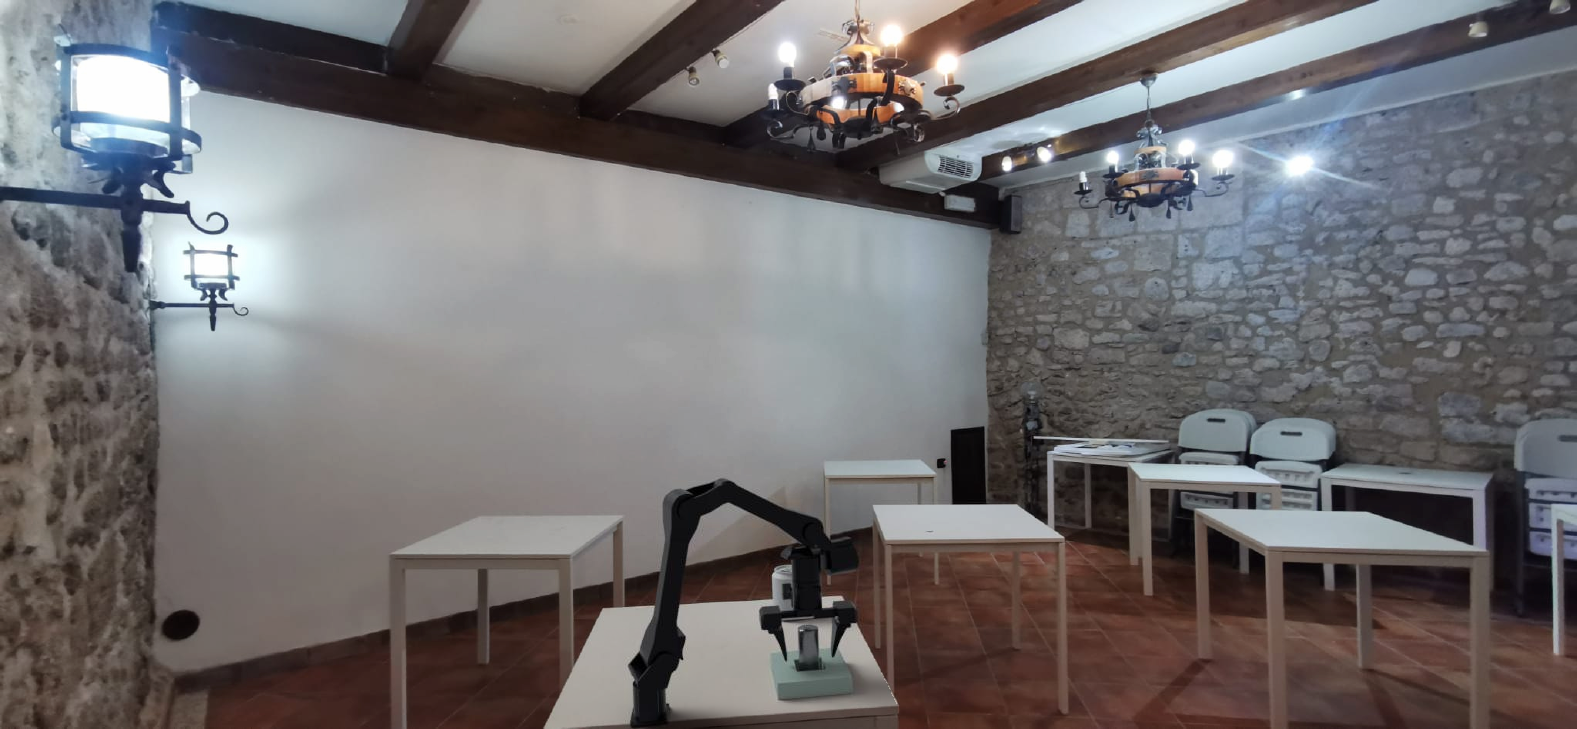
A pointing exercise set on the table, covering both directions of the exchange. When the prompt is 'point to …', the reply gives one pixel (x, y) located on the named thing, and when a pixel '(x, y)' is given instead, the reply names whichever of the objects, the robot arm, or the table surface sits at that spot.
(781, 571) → the can
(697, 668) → the table surface
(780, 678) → the socket block
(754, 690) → the table surface
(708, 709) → the table surface
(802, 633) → the peg
